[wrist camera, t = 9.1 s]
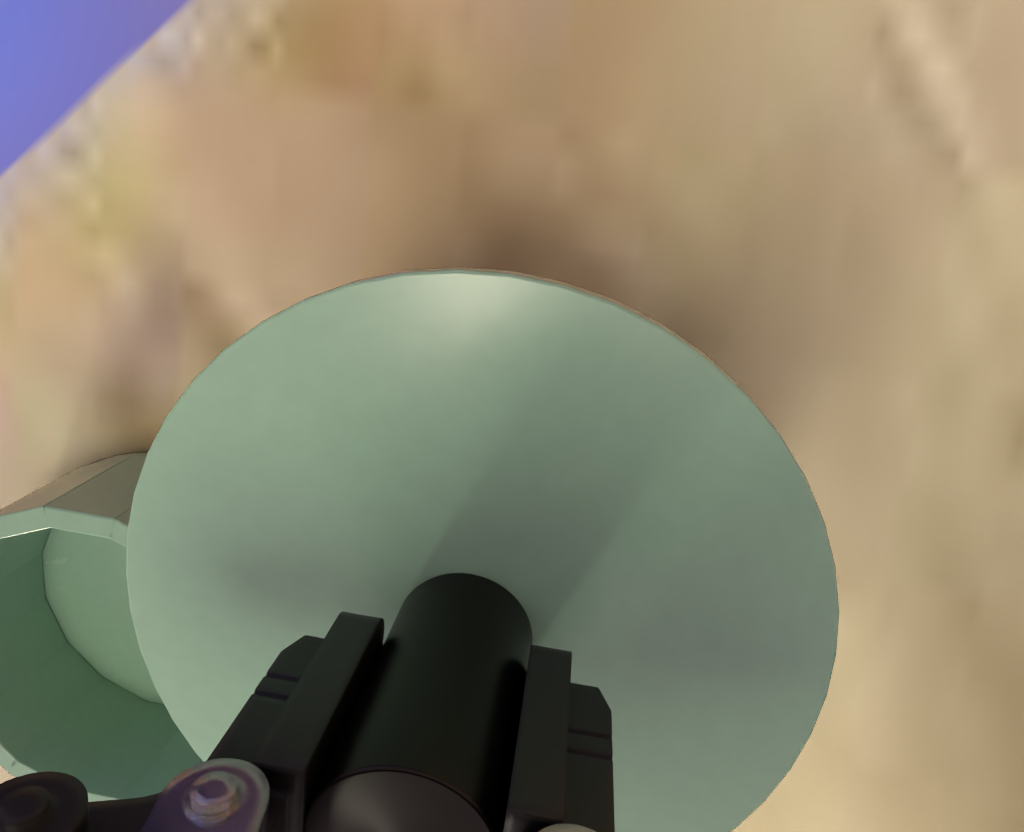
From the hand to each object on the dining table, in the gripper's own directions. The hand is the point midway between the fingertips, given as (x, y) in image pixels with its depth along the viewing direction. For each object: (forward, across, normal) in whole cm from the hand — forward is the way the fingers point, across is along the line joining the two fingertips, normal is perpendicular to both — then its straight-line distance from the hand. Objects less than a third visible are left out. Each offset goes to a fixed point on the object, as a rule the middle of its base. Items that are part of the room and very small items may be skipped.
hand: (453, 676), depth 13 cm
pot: (+15, -14, -10) cm, 23 cm away
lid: (+2, 0, 0) cm, 2 cm away
